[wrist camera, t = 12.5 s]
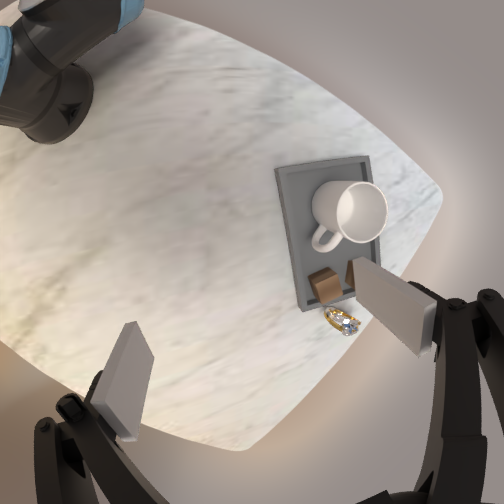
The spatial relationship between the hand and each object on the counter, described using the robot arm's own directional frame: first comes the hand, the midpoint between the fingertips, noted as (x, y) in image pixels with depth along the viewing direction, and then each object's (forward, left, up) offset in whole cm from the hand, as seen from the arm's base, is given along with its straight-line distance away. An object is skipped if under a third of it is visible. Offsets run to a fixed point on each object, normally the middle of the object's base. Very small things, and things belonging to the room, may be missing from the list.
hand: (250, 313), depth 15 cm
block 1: (+12, +14, -28) cm, 34 cm away
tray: (+4, +17, -29) cm, 34 cm away
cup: (+1, +16, -29) cm, 33 cm away
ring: (+19, +16, -30) cm, 39 cm away
